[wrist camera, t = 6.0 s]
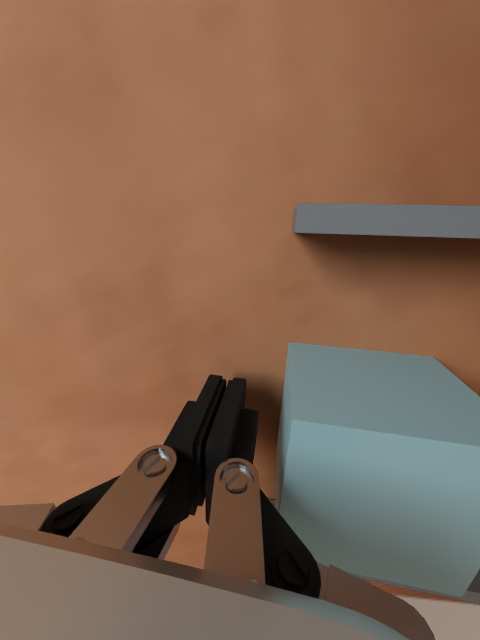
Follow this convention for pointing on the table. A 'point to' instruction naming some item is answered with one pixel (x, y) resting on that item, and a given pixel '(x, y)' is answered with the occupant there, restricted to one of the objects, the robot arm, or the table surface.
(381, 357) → the teal block
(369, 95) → the table surface
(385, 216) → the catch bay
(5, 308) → the table surface
